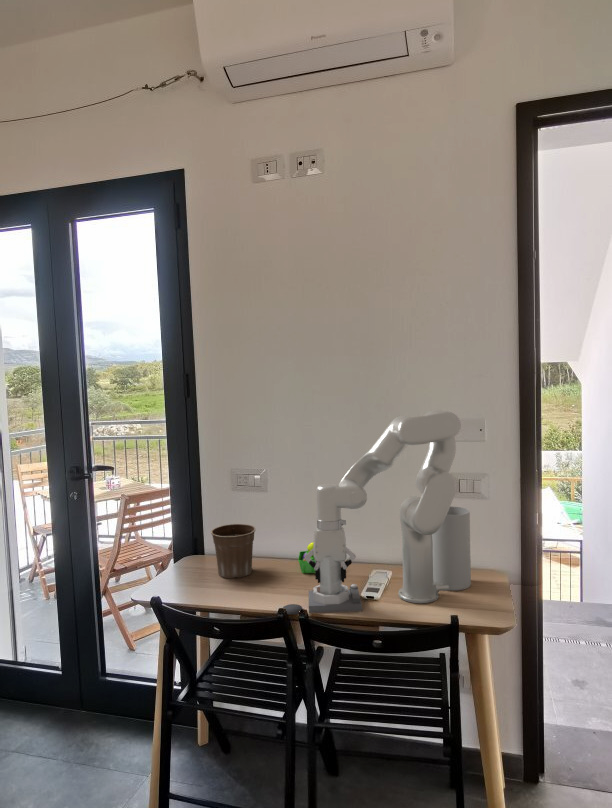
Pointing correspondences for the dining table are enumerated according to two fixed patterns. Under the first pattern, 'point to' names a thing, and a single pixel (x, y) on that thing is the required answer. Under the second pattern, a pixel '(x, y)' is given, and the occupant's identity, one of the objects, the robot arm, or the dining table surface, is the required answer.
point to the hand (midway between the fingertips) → (330, 580)
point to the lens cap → (292, 609)
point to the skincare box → (330, 576)
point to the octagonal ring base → (335, 600)
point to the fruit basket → (303, 563)
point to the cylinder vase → (453, 550)
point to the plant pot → (234, 549)
